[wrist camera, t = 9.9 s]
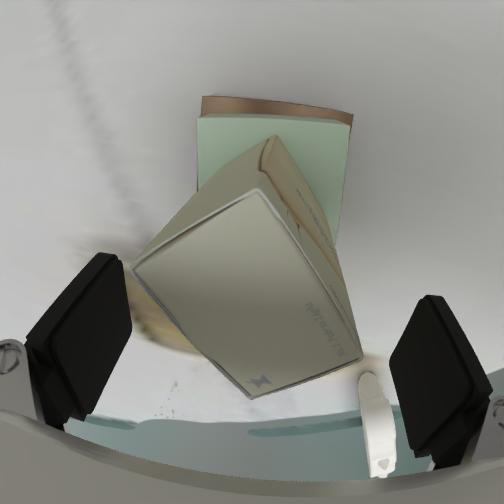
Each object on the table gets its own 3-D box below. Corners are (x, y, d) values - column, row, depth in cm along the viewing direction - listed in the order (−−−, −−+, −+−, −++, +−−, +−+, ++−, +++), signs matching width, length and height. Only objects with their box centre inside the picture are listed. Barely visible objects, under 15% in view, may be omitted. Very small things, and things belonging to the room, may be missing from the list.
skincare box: (327, 216, 19) (374, 361, 9) (267, 248, 21) (251, 405, 10) (274, 129, 17) (266, 179, 6) (212, 168, 19) (121, 271, 8)
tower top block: (335, 119, 21) (350, 125, 17) (323, 231, 25) (332, 259, 21) (211, 113, 21) (196, 117, 17) (212, 225, 25) (201, 252, 21)
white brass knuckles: (361, 422, 46) (372, 495, 33) (352, 361, 38) (370, 459, 25) (379, 417, 45) (394, 490, 32) (376, 354, 37) (401, 450, 24)
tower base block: (340, 111, 24) (353, 114, 20) (320, 225, 30) (327, 247, 26) (213, 95, 24) (202, 96, 20) (206, 212, 30) (195, 232, 26)
